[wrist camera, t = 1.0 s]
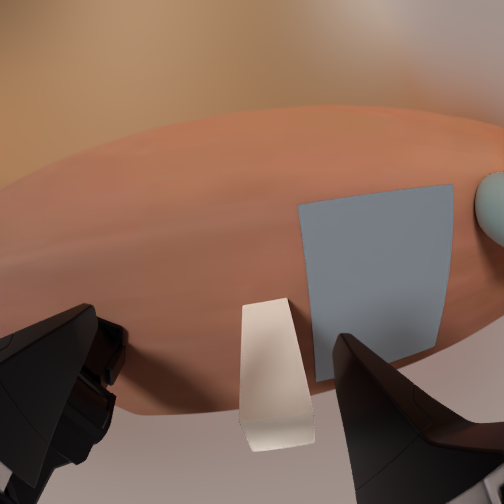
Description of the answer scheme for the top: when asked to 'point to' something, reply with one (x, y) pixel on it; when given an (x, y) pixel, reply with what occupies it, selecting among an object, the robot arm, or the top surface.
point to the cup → (491, 206)
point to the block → (273, 380)
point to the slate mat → (378, 270)
